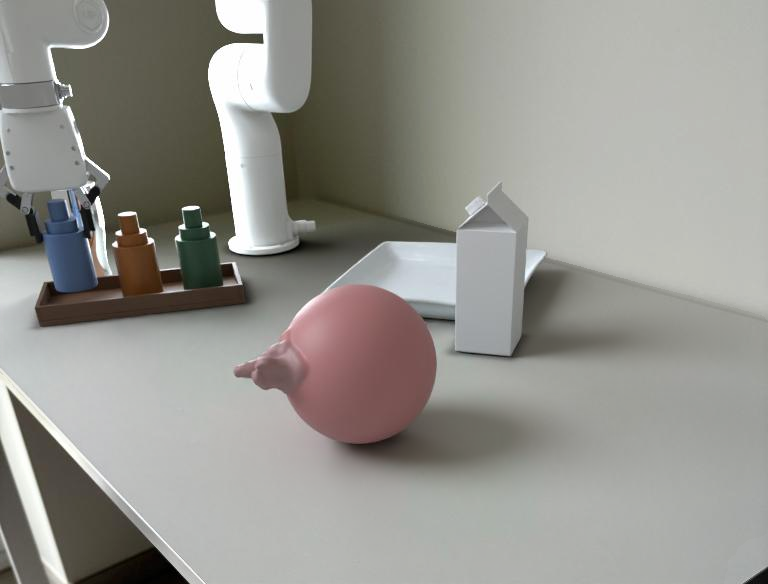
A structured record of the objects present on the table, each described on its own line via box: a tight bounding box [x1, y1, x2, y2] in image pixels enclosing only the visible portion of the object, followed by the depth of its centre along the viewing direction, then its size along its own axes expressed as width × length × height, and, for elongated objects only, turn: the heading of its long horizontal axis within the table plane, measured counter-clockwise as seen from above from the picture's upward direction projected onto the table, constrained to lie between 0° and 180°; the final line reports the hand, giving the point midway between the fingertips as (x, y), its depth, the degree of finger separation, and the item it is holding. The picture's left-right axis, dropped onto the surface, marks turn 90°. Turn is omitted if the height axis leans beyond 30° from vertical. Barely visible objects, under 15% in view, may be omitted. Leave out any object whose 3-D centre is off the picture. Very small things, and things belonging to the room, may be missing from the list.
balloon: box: [232, 284, 438, 445], centre depth 78 cm, size 15×20×15 cm
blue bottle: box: [41, 198, 98, 293], centre depth 114 cm, size 6×6×12 cm
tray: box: [34, 261, 246, 327], centre depth 120 cm, size 29×12×3 cm, turn 104°
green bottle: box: [174, 205, 224, 290], centre depth 119 cm, size 6×6×12 cm
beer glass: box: [50, 179, 114, 276], centre depth 126 cm, size 7×7×15 cm
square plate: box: [320, 240, 548, 321], centre depth 118 cm, size 27×27×4 cm
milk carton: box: [454, 180, 529, 357], centre depth 97 cm, size 7×7×19 cm
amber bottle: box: [111, 211, 164, 297], centre depth 117 cm, size 6×6×12 cm
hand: (65, 237), depth 114 cm, fingers closed on blue bottle, 6 cm apart
